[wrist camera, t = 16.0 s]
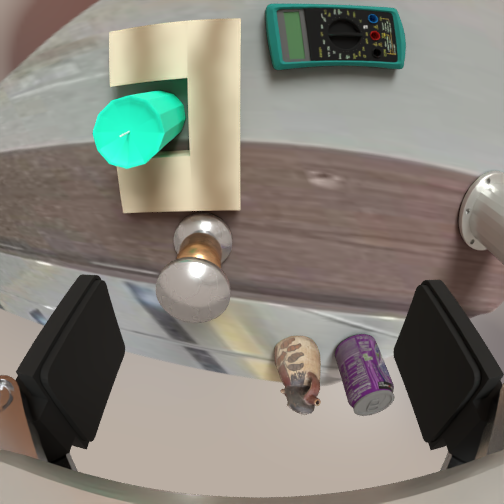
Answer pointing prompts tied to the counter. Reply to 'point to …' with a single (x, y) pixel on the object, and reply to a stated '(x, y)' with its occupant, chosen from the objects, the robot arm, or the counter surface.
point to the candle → (137, 127)
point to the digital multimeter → (334, 36)
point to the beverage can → (364, 375)
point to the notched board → (199, 113)
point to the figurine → (299, 372)
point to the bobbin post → (197, 270)
